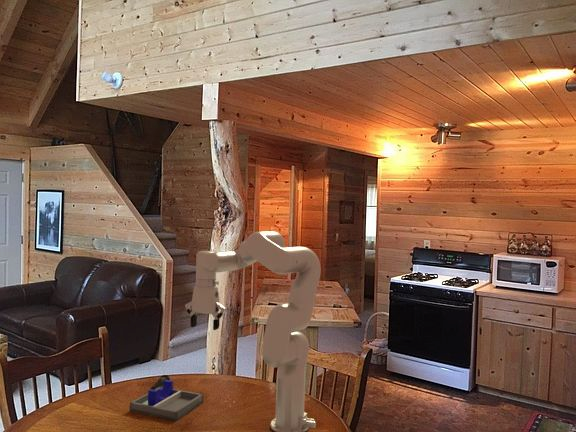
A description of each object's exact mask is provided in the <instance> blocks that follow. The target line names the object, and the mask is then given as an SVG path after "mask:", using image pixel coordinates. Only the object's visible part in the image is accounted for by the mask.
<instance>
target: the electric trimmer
mask: <svg viewBox="0 0 576 432" xmlns="http://www.w3.org/2000/svg"><path fill="white" fill-rule="evenodd" d="M165 380H171V379H170V376H169V375H167V374H163V375H162V376H161V377H159V379H158V380H157V381H156V382H155V383H154V384H153V385H152V386H151V388H150V389H153V390H155V389H157V388H158V387H160V386H161V387H163V385H164V381H165Z"/></svg>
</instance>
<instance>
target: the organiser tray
mask: <svg viewBox="0 0 576 432" xmlns="http://www.w3.org/2000/svg"><path fill="white" fill-rule="evenodd" d="M160 388H162V387H161V386H160V387H158V388H157V389H155V390H159V389H160ZM204 394H205V393H204ZM204 394H202V393H198V392H194V391H187V390H181V389H177V388H173V395H171V396H169V397H168V398H166V399H164V400H163V401H161V402H159V403H157V404H156V405H154V406H150V405H148V392H147V393H146V394H143V395H142V396H139V397H138V398H136V399H134V400H132V401H130V402H129V412H131V413H136V414H142V415H146V416H149V417H150V416H151V417H153V418H154V417H155V418H159V419H163V420H164V419H165V420H170V421H173V422H176V421H178V420H179V419H181V418H182V417H184V416H185V415H187V414H188V413H190V412H192V411H193V410H194V409H196V408H198V407H199V406H200V405H202V404H203V403H204Z"/></svg>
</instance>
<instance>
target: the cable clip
mask: <svg viewBox="0 0 576 432" xmlns="http://www.w3.org/2000/svg"><path fill="white" fill-rule="evenodd" d="M173 389H174V380H171V379H170V380H165V381H164V385H163V387H162V388H160V389H159V390H153V389H151V388H150V389H148V391H147V393H148V405H150V406H154V405H156V404H157V403H159V402H161V401H163V400H164V399H166V398H168V397H169V396H171V395H173Z"/></svg>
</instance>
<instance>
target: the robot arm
mask: <svg viewBox="0 0 576 432" xmlns="http://www.w3.org/2000/svg"><path fill="white" fill-rule="evenodd" d="M285 244H286V241H285V238H284V236H283V235H282V234H281V233H279V232H276V231H275V230H274V231H273V230H271V231H270V230H269V231H266V230H265V231H254V232H252V233H251V234H249V235H248V236H247V238H246V239H245V240H243V241H242V242H241V243H240V245H239V247H238V249H235V250H230V251H229V250H228V251H214V250H213V251H212V250H200V251H198V252H197V253H196V259H195V260H196V262H195V263H196V264H195V267H196V268H195V286H194V288H193V292H192V298H191V301H189V302H187V303H186V304H184V307H185V309H186V312H187V314H188V316H189V317H190V322H189V323H190V327H191V328H194V327H197V325H198V324H197V323H198V321H197V320H198V316H197V314H198V313H199V314H204V315H205V314H206V315H211V316H212V317H213V321H212V330H213V331H216V330H218V329H219V328H220V319H221V317H223V315H224V314H225V313H226V310H227V308H226V307H225V306H224V305H222V304H221V303H220V293H219V287H218V285H219V281H217V274H218V273H224V272H233V271H237V270H241V269H243V268H246V267H249V266H251V265H253V264H254V263H256V262H257V263H260V265H262V266H264V267H265V268H267V269H268V270H269V271H271V272H273V273H274V274H277V275H288V274H295V273H296V277H295V278H294V280H293V281H292V283H291V285H290V289H289V295H288V299H287V301H286V303H285V302H284V303H281V304H277V305H276V306H274V307H272V309H271V310H270V312H269V313H268V316H267V318H266V323H265V328H264V329H265V330H264V334H263V339H262V345H261V355H262V359H263V361H264V363H265V364H266V365H267V366H268V367H270V368H277V372H276V390H275V392H276V393H275V395H276V396H275V417H274V419H272V420H271V421H270V428H271V430H273V432H307V431H308V429H309V428H313V429H315V428H316V427H317V426H316V425H317V422H316V421H315V419H314V418H310V417H309V418H308V413H307V412H305V401H306V400H305V399H306V398H305V397H306V396H305V395H306V393H305V392H306V371H307V363H308V356H309V353H310V343H309V340H308V338H307V336H306V335H305V334H304V333H303V332H301V331H302V330H305V329H307V328H308V326H309V325H310V323H311V320H312V315H313V310H314V306H315V300H316V295H317V290H318V285H319V282H320V279H321V274H322V273H321V272H322V269H321V268H322V267H321V262H320V260H319V257H318V255H317V254H316V253H315V252H314V251H313V250H312V249H310V248H308V247H305V246H289V247H285V246H286V245H285Z"/></svg>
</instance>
